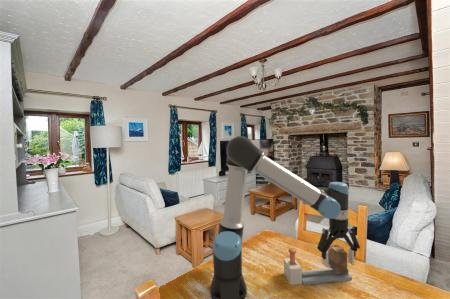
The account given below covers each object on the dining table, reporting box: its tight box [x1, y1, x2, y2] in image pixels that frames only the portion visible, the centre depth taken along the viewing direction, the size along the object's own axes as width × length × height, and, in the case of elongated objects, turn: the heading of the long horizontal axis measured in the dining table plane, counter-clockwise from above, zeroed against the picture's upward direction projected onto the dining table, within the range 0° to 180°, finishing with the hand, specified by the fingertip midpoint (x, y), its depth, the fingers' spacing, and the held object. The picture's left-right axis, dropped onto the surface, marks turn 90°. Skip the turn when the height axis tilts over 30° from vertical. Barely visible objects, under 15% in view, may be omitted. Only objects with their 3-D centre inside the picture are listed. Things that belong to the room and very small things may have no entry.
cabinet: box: [283, 257, 303, 286], centre depth 96 cm, size 5×8×7 cm, turn 5°
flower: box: [327, 243, 345, 259], centre depth 108 cm, size 10×9×8 cm
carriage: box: [329, 247, 348, 274], centre depth 96 cm, size 5×5×10 cm
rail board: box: [302, 268, 353, 285], centre depth 96 cm, size 22×7×3 cm, turn 95°
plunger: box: [288, 247, 297, 264], centre depth 95 cm, size 3×3×6 cm
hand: (338, 264), depth 97 cm, fingers open, 11 cm apart
